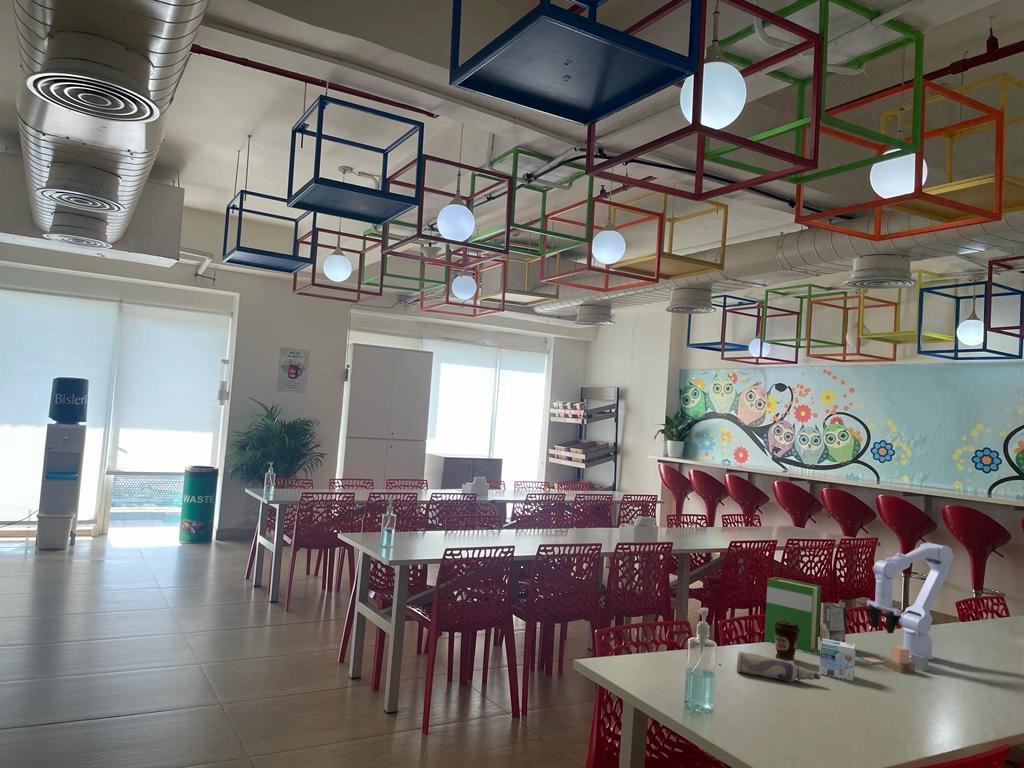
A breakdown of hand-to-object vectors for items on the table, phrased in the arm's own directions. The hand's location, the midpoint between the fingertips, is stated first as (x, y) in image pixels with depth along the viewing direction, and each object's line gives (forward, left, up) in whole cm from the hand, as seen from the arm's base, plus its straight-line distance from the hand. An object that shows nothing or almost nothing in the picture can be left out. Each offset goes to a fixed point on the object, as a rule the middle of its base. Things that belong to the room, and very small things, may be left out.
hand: (882, 630), depth 273 cm
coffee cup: (+43, +2, -10) cm, 44 cm away
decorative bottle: (+61, +21, -10) cm, 65 cm away
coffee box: (+12, -12, -10) cm, 20 cm away
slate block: (-4, +14, -10) cm, 17 cm away
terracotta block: (+5, +14, -7) cm, 16 cm away
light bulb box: (+35, +19, -10) cm, 41 cm away
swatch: (+8, +5, -10) cm, 14 cm away
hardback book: (+29, -14, -10) cm, 34 cm away
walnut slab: (+5, +14, -10) cm, 18 cm away
